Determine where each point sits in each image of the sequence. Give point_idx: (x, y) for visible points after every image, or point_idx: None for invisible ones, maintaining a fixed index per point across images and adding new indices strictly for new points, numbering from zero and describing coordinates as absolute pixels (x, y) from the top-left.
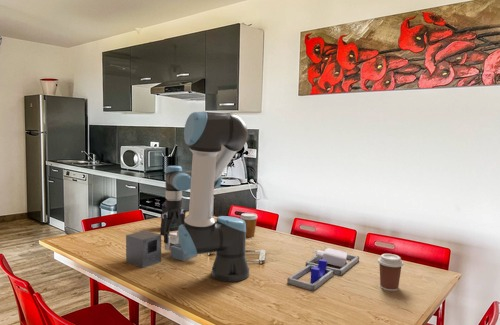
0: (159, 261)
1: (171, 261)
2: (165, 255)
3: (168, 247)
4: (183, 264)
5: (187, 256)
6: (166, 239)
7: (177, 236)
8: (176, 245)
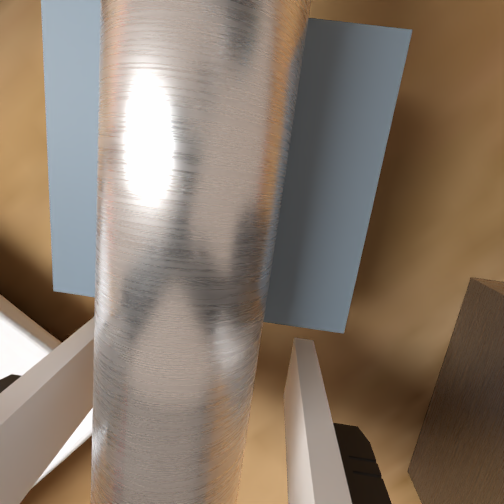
0: (497, 283)
1: (423, 193)
2: None
3: (317, 366)
4: (456, 3)
5: None
6: (374, 488)
7: (159, 404)
8: None
